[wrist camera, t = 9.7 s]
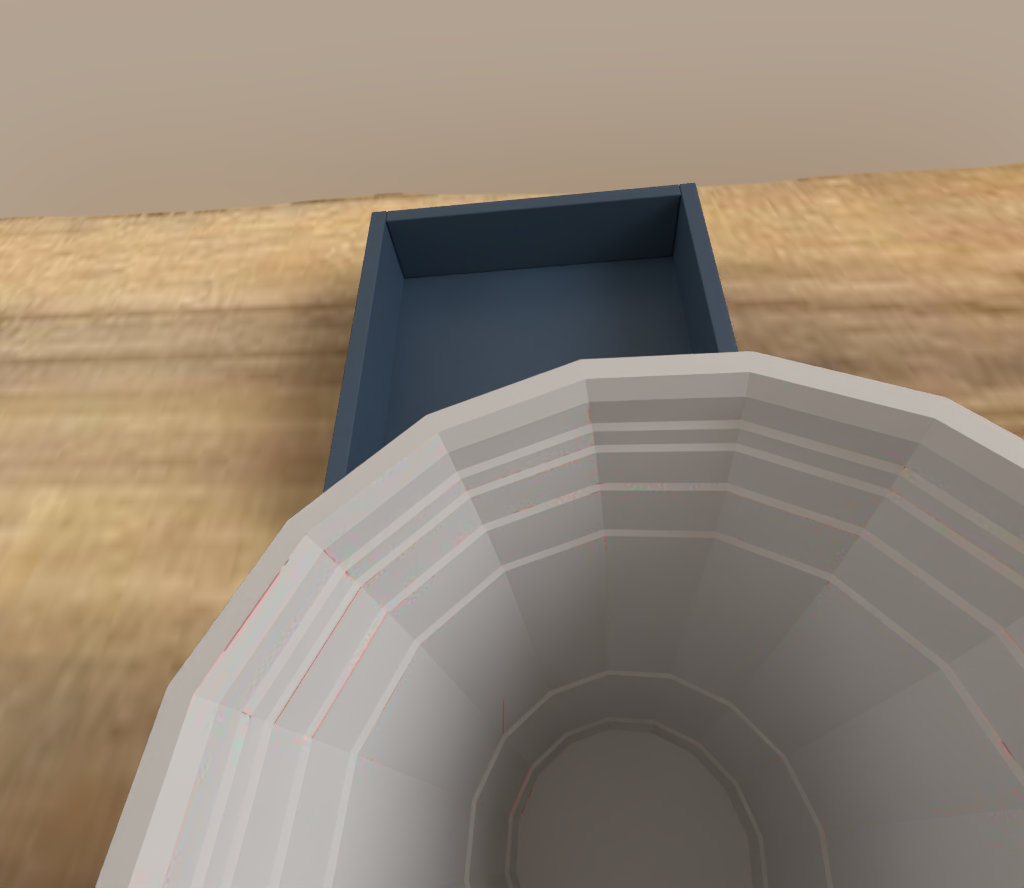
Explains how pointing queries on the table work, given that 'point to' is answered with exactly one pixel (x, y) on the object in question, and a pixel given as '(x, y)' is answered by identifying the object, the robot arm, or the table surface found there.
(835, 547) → the plastic cup
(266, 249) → the table surface
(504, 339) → the bin
